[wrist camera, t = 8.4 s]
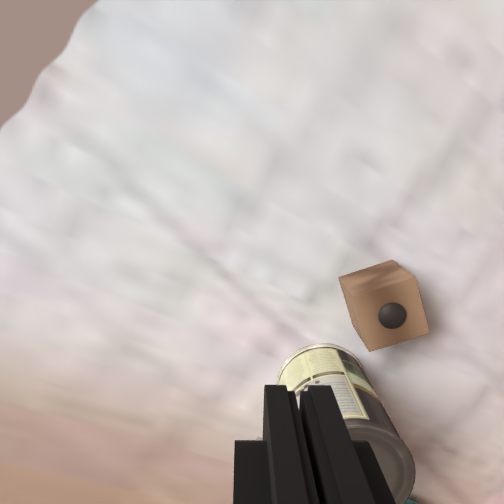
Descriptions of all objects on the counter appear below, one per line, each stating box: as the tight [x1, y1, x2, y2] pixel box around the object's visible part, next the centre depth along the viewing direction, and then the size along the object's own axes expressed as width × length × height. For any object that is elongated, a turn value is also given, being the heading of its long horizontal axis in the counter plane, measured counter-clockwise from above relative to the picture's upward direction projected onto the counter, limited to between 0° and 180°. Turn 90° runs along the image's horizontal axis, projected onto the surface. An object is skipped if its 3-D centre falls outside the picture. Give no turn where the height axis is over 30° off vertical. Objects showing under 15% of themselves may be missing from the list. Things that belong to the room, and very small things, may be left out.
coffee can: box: [277, 344, 415, 504], centre depth 39 cm, size 10×10×14 cm
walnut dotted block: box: [338, 260, 429, 352], centre depth 41 cm, size 6×6×6 cm
